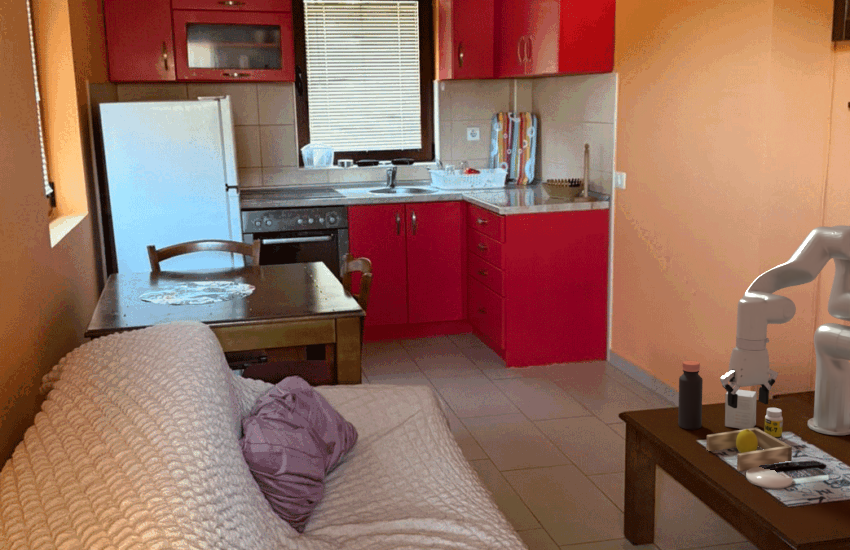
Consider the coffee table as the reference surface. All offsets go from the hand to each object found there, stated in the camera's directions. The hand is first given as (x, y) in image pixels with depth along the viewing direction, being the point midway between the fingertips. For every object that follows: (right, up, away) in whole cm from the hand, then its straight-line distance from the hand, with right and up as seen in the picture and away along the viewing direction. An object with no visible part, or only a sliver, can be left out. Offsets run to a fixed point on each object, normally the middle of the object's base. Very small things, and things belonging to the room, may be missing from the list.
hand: (747, 404), depth 221 cm
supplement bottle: (+13, -12, +15) cm, 24 cm away
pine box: (+1, -15, +3) cm, 15 cm away
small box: (+8, -11, +25) cm, 28 cm away
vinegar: (-7, -11, +26) cm, 29 cm away
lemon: (+1, -15, +3) cm, 15 cm away
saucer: (+1, -17, -11) cm, 21 cm away
